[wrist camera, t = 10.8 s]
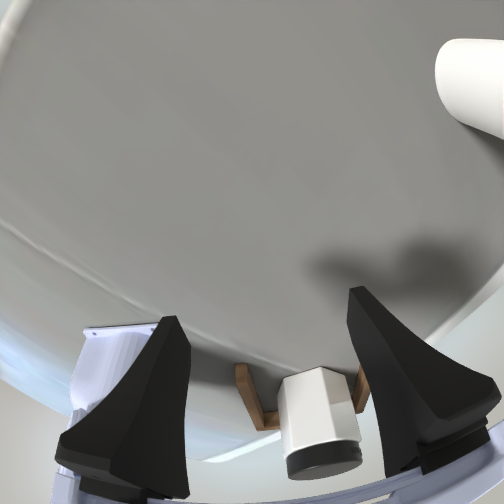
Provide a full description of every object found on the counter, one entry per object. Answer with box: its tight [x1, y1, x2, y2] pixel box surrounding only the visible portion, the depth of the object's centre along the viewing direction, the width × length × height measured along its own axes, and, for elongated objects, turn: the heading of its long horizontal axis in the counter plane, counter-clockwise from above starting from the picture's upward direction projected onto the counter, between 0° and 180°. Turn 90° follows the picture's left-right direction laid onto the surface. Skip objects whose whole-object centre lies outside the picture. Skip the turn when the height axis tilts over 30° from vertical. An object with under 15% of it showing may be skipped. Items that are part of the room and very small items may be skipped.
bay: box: [235, 363, 371, 431], centre depth 32 cm, size 15×15×2 cm
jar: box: [277, 367, 362, 480], centre depth 28 cm, size 9×8×12 cm
